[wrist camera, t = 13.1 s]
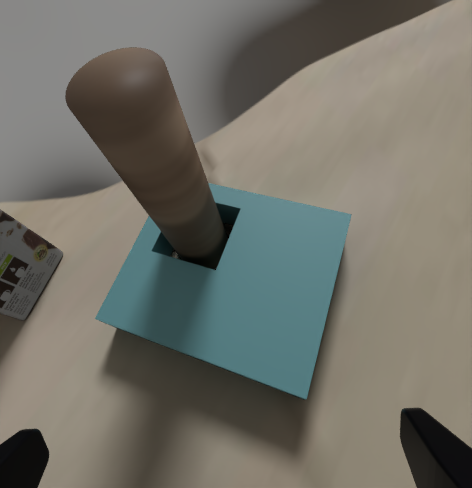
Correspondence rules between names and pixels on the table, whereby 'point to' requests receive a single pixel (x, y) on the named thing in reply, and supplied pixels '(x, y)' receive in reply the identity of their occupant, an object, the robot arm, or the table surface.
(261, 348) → the holder block
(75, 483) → the table surface
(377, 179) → the table surface
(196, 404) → the table surface
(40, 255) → the brown cookie box
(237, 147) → the table surface
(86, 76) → the peg
